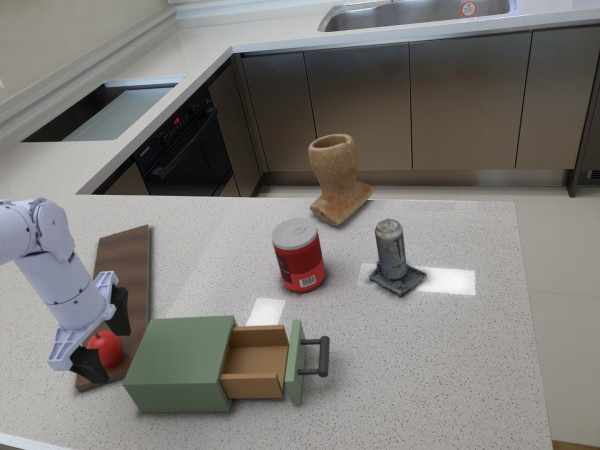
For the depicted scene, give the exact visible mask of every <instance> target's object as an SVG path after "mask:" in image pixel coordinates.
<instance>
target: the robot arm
mask: <svg viewBox="0 0 600 450" xmlns="http://www.w3.org/2000/svg"><path fill="white" fill-rule="evenodd" d="M75 248H76V243H75V239H74V238H73V236H72V233H71V231H70V227H69V221H68V217H67V214H66V211H65V209H64V207H63V206H60V205H58V204H57V203H56V202H54V201H52V200H48V199H47V198H45V197H36V198H29V199H24V200H17V201H12V200H11V199H9V198H6V199H5V198H4V199H0V266H3V265H6V264H8V263H11V262H13V263H14V265H16V267H17V268H18V270H19V271H20V272H21V274H22V275H23V276H24V277H25V279H26V280H27V282H28V283H29V284H30V286H31V287H32V288H33V290H34V291H35V292H36V294H37V295H38V297H39V298H40V299H41V301H42V302H43V304H44V305H45V306H46V307H47V309H48V310H49V312H50V313H51V314H52V316H53V317H54V318H55V320H56V321H57V324H56V329H55V333H54V338H53V341H52V347H51V350H50V353H49V355H48V357H47V359H46V361H45V362H46V363H47V365H49V367H50V368H51V369H52V370H53V371H54V372H65V371H69V372H72V373H74V374H76V375H77V374H79V375H81V376H82V377H84V378H86V379H87V380H89V381H90V382H92V383H93V384H103V385H107V384H109V383H108V381H109V376H108V373H107V372H106V370H105V369H104V367H103V365H102V363H101V360H100V357H99V348H95V349H86V347H85V346H83V347H82V342H83V341H84V340H85V339H86V338H87V337H88V336H89V335H90V334H91V333H92V332H93V331H94V330H95V329H96V328H97V326H98V325H99V324H100V323H101V322H102V321H105V323H106V324H107V325H108V327H109V328H110V329H111V331H112V332H113V333H114V334H115V335H116V336H130V334H131V327H130V323H129V318H128V310H127V301H128V294H129V293H128V291H127V289H126V288H125V287H117V288H116V287H115V286H116V285H117V284H118V282H119V280H118V278H117V276H116V274H115V273H114V271H107V272H100V274H99V275H98V277H97V278H96V279H95V280H94V281H93V277H91V275H90V273H89V271H88V269H87V268H86V267H85V265H84V263H83V261H82V260H81V258H80V257H79V255H78V254H77V252H76V250H75Z"/></svg>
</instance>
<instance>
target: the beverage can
mask: <svg viewBox="0 0 600 450" xmlns="http://www.w3.org/2000/svg"><path fill="white" fill-rule="evenodd" d="M374 235H375V243H376V249H377V251H376V252H377V256H378V257H377V258H378V260H377V262H376V268H375V269H373V270H374V271H372V272H371V273H370V274H369V275H368V280H369V281H370V282H371V281H374V282H376V284H378V285H379V286H380V287H381V288H383V289H384V288H386V289H387V291H391V292H393V293H395V294H396V295H397V296H400V297H401V296H402V295H405V294H406V291H407V292H408V291H409V290H412V289H413V288H415V286H416V287H417V285H418V284H420V283H421V281H423V280H424V276H425V277H426V278H428V276H427V273H425V272H424V271H422V270H420V269H418V268H416V267H413V266H411V265H409V264H407V255H406V246H405V245H406V244H405V236H404V228H403V226H402V224H401V223H400V222H399V221H397V220H395V219H392V218H386V219H383V220H382V221H381V220H380V221H379V222H377V224H376V226H375V229H374Z"/></svg>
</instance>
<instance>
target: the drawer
mask: <svg viewBox="0 0 600 450" xmlns="http://www.w3.org/2000/svg"><path fill="white" fill-rule="evenodd" d="M315 345H316V346H318V345H319V352H318V364H317V365H318V366H317V367H318V368H305V359H306V348H307V346H315ZM330 345H331V338H330V336H328V335H322V336H321V337H320V338H306V335H305V331H304V327H303V324H302V319H300V318H299V319H298V318H297V319H292V323H291V329H290V338H289V337H288V334H287V331H286V328H285V325H284V324H267V325H265V324H264V325H263V324H262V325H241V326H239V325H238V327H233V328H232V332H231V336H230V340H229V343H228V347H227V351H226V355H225V359H224V363H223V367H222V371H221V375H220V378H219V383H220V385H221V387H222V389H223V391H224V393H225V395H226V397H227V398H233V399H283V397H284V391H285V387H286V389H287V393H288V396H289V399H290V402H291V404H301V402H302V401H301V400H302V391H303V379H304V376H318V377H320V378H327V377H329V367H330Z"/></svg>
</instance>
